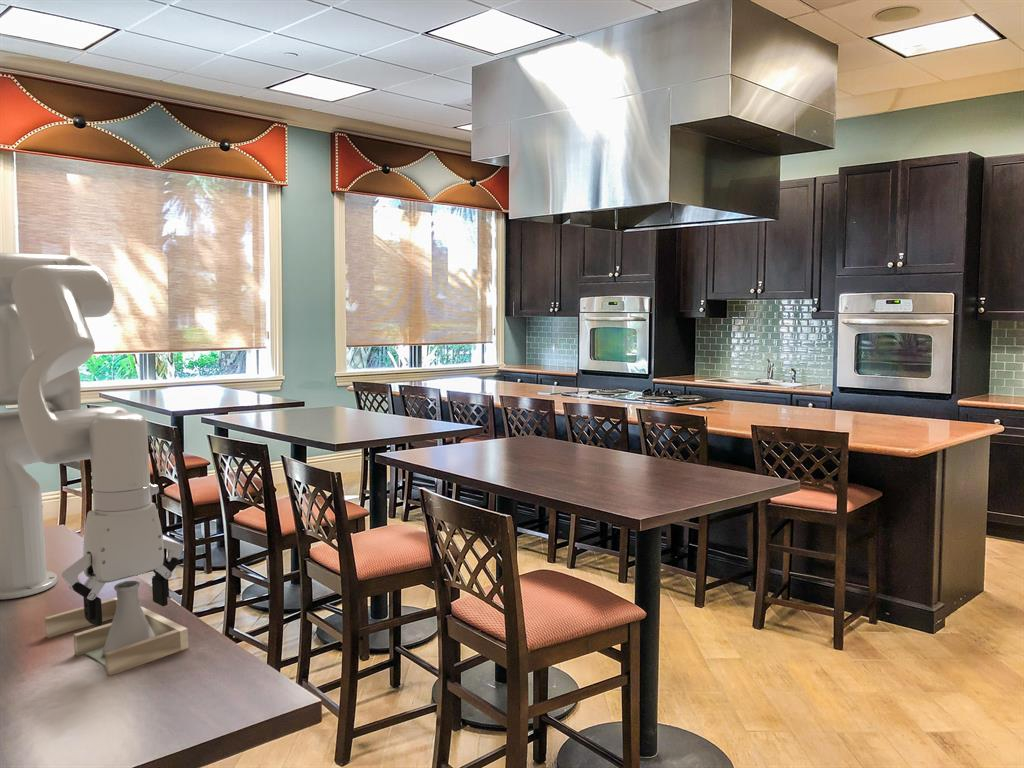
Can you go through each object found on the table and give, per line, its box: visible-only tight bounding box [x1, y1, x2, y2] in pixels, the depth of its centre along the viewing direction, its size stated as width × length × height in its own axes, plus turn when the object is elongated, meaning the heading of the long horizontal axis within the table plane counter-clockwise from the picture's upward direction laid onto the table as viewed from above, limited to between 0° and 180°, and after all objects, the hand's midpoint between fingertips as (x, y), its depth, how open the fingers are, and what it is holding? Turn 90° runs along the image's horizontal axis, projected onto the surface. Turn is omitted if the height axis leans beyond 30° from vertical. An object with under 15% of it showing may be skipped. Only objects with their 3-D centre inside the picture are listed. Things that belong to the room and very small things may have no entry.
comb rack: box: [44, 596, 190, 677], centre depth 125 cm, size 21×12×3 cm, turn 51°
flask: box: [102, 580, 155, 656], centre depth 122 cm, size 7×7×10 cm
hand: (128, 613), depth 122 cm, fingers open, 9 cm apart
